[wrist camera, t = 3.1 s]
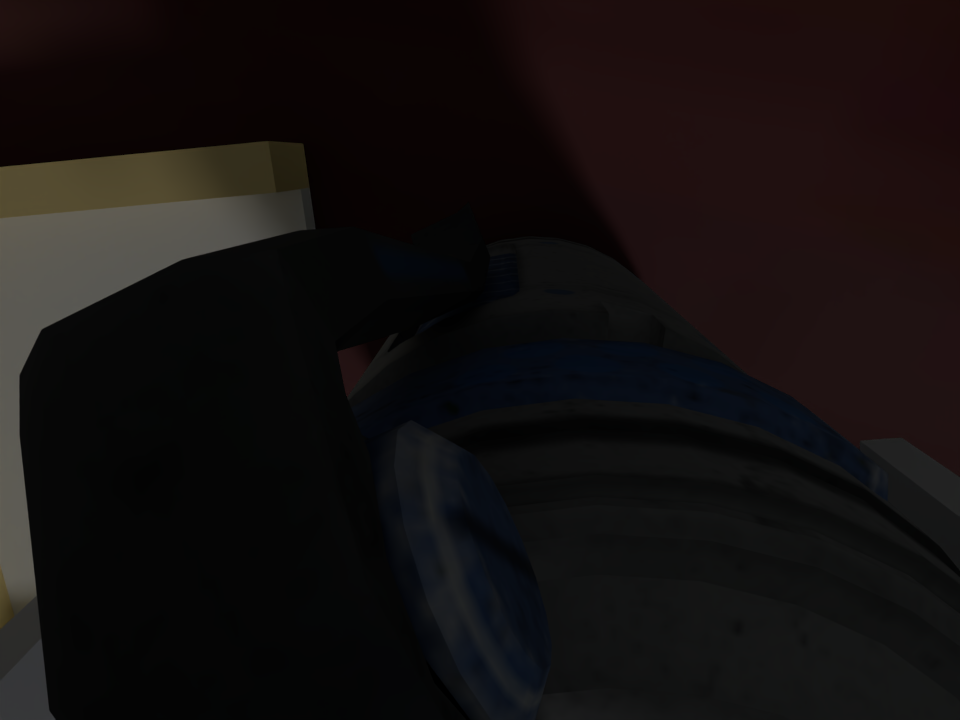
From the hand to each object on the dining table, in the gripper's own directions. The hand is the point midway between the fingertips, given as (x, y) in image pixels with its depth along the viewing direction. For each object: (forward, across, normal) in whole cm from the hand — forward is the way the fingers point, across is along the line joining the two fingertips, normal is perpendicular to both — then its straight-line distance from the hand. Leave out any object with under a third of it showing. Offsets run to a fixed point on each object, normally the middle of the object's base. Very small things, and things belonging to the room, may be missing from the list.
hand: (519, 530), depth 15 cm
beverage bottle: (+14, 0, 0) cm, 14 cm away
